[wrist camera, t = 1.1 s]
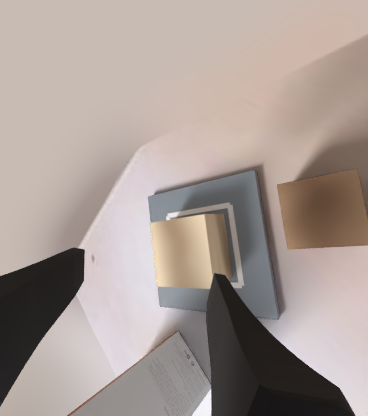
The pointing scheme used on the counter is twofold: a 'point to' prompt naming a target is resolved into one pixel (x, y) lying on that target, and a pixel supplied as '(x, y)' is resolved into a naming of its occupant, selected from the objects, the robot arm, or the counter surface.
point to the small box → (153, 385)
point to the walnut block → (324, 211)
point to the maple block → (190, 251)
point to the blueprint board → (236, 234)
